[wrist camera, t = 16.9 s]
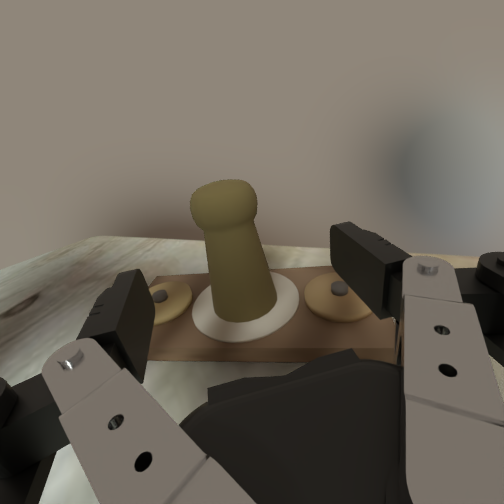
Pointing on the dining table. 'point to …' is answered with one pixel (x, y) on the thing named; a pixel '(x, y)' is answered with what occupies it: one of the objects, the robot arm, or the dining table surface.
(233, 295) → the cork
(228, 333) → the board
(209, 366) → the dining table surface
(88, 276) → the dining table surface
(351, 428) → the robot arm
